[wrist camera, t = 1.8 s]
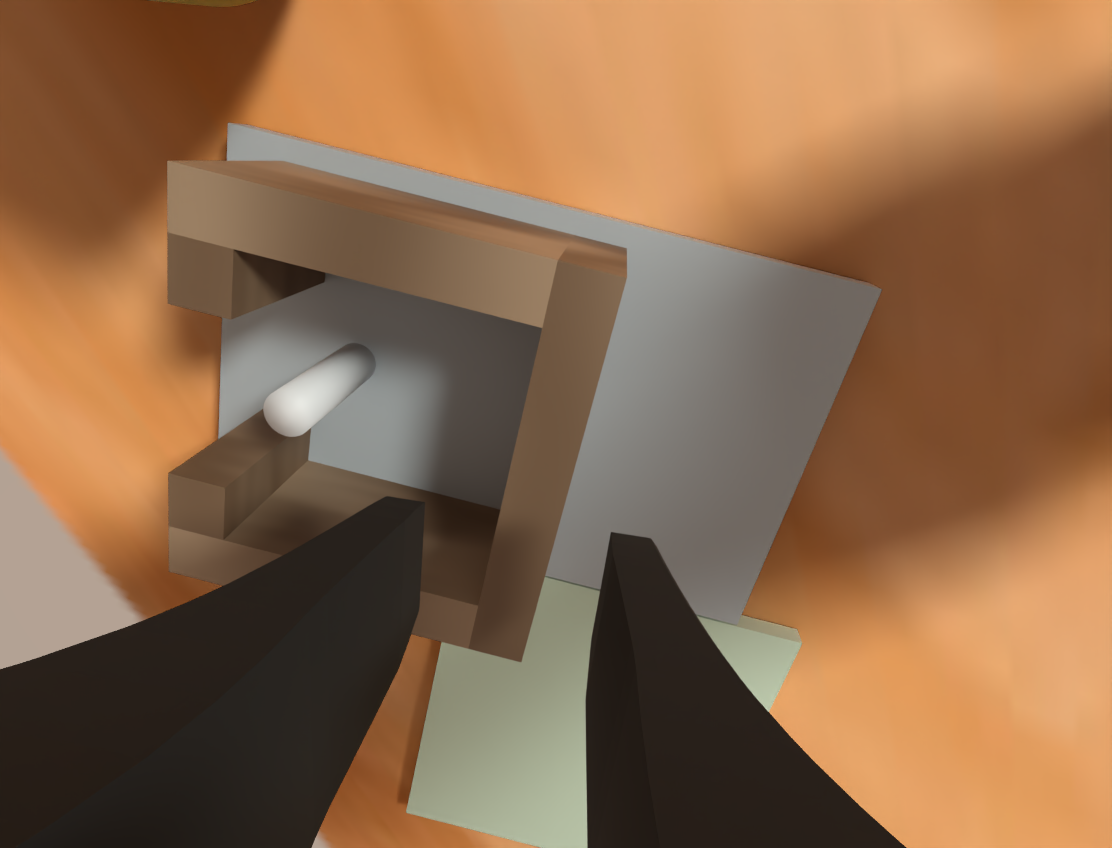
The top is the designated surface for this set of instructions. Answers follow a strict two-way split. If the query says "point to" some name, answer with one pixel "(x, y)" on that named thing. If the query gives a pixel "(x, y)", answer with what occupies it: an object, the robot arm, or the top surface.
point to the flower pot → (210, 2)
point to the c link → (414, 268)
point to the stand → (621, 396)
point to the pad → (544, 720)
